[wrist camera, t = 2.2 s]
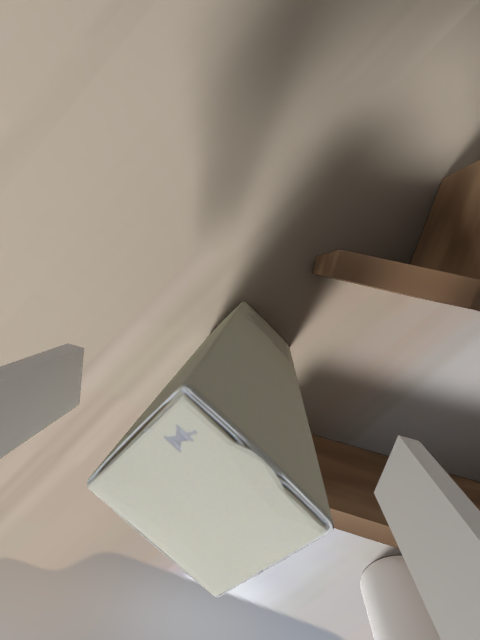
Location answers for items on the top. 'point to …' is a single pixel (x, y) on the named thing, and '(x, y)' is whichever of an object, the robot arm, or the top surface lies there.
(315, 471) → the box
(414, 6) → the top surface
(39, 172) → the top surface
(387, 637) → the cylindrical container
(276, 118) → the top surface
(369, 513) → the wooden u-shaped enclosure
